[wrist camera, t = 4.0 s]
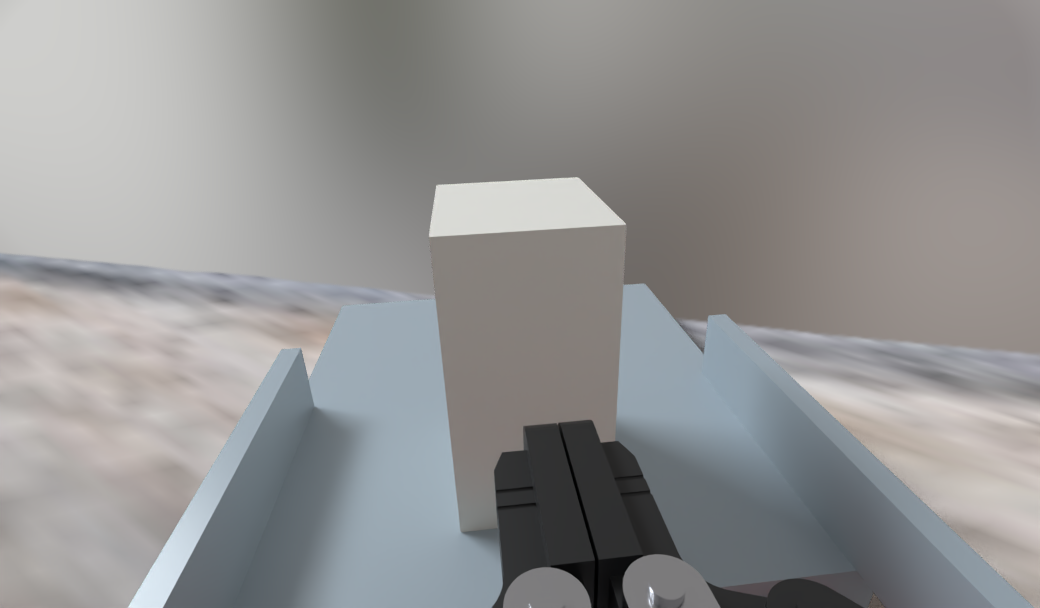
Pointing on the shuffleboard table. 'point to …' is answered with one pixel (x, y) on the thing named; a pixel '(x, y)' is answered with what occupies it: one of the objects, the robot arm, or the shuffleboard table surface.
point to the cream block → (523, 319)
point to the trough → (476, 554)
